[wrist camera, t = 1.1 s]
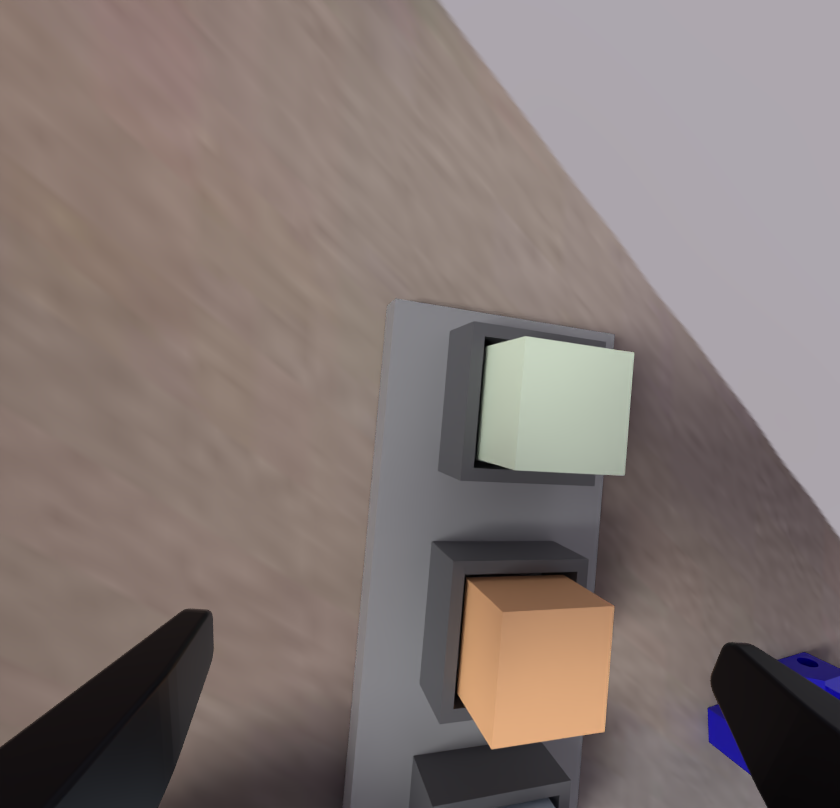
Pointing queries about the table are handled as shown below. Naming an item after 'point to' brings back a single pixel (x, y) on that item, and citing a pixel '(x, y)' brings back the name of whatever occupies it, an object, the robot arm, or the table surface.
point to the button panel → (452, 569)
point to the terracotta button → (534, 658)
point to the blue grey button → (532, 804)
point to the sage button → (555, 407)
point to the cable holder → (803, 663)
